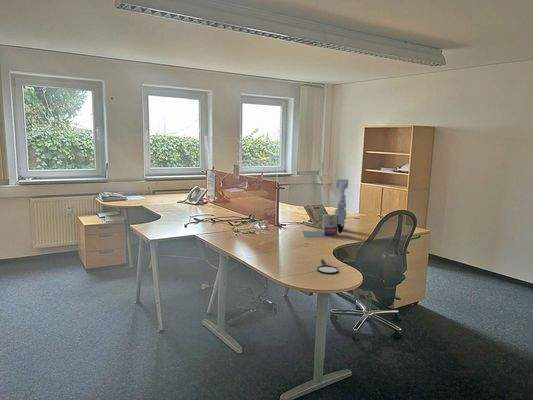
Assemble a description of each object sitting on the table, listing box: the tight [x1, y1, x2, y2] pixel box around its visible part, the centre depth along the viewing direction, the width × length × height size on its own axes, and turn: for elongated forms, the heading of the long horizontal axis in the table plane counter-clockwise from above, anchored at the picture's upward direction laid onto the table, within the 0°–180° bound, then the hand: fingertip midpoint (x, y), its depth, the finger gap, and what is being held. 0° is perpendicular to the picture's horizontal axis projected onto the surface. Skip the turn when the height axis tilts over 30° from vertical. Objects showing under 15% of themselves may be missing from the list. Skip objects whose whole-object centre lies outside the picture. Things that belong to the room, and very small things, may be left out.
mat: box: [302, 230, 329, 239], centre depth 334 cm, size 20×19×1 cm
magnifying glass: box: [316, 258, 339, 275], centre depth 248 cm, size 12×24×2 cm, turn 2°
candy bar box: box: [322, 213, 338, 236], centre depth 332 cm, size 11×5×16 cm, turn 103°
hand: (340, 233), depth 333 cm, fingers closed
